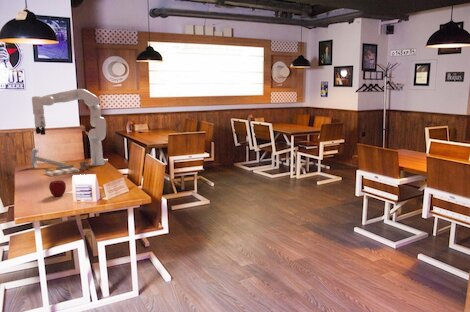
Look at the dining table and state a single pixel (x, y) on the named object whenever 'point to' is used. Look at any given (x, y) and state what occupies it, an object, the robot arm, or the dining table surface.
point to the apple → (57, 187)
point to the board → (62, 171)
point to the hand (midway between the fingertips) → (40, 134)
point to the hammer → (44, 159)
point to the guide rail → (59, 168)
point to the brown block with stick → (84, 165)
